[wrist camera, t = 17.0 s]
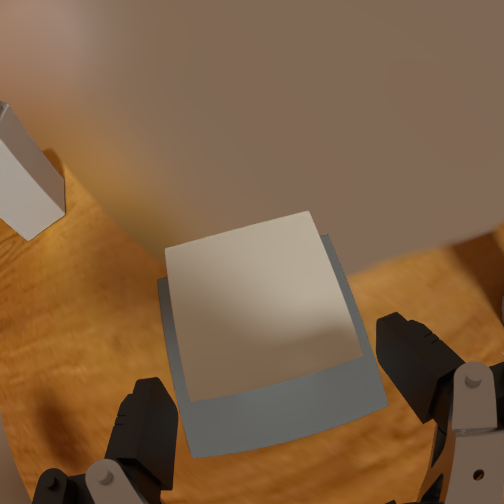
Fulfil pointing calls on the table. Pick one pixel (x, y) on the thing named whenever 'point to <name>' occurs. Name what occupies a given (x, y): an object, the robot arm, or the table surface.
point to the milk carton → (26, 180)
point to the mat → (277, 393)
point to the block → (257, 308)
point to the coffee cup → (502, 309)
